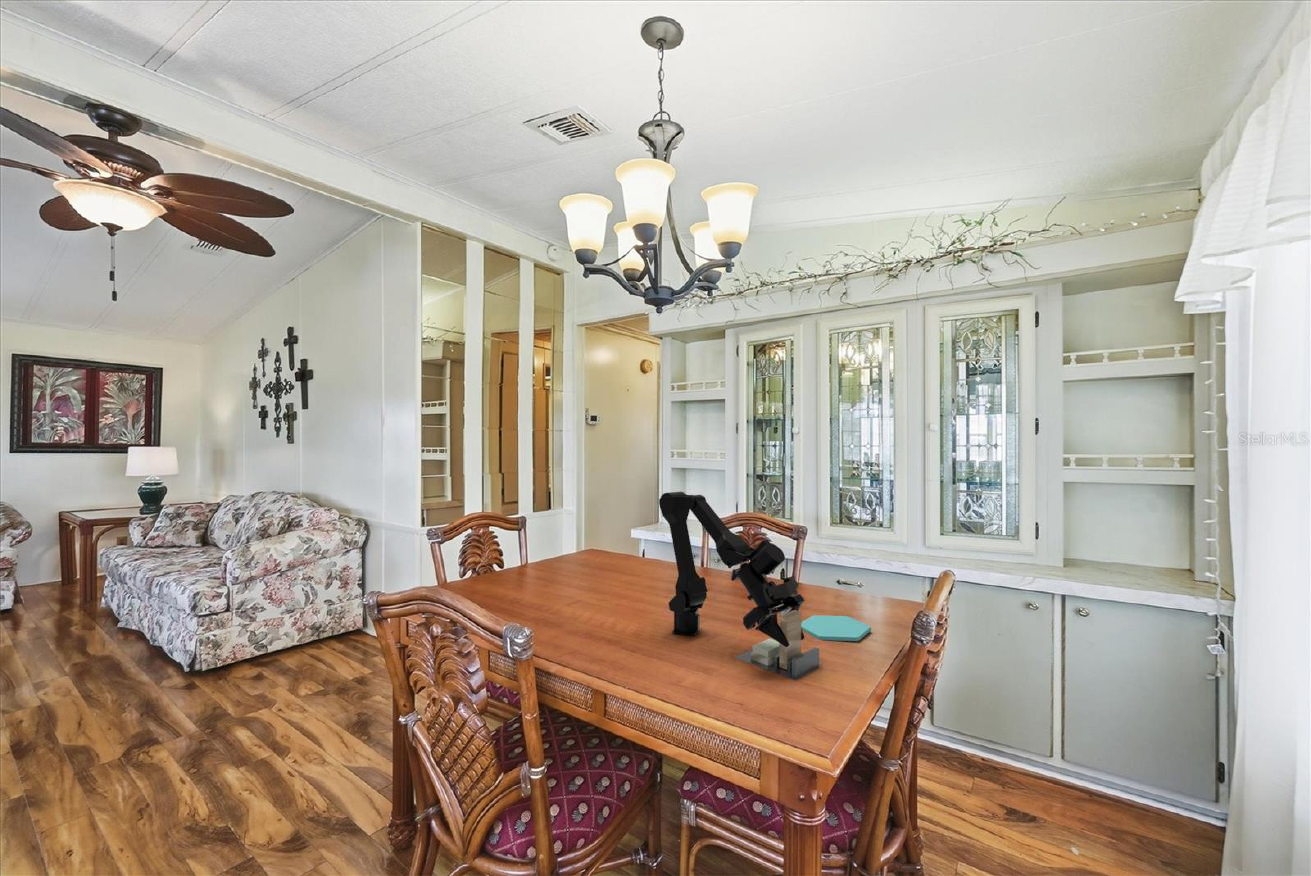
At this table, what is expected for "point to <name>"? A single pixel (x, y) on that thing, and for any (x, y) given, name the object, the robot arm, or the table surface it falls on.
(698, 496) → the robot arm
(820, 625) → the plaque
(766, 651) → the offcut upper
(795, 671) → the offcut rack
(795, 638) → the birch block
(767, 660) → the offcut lower
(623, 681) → the table surface
